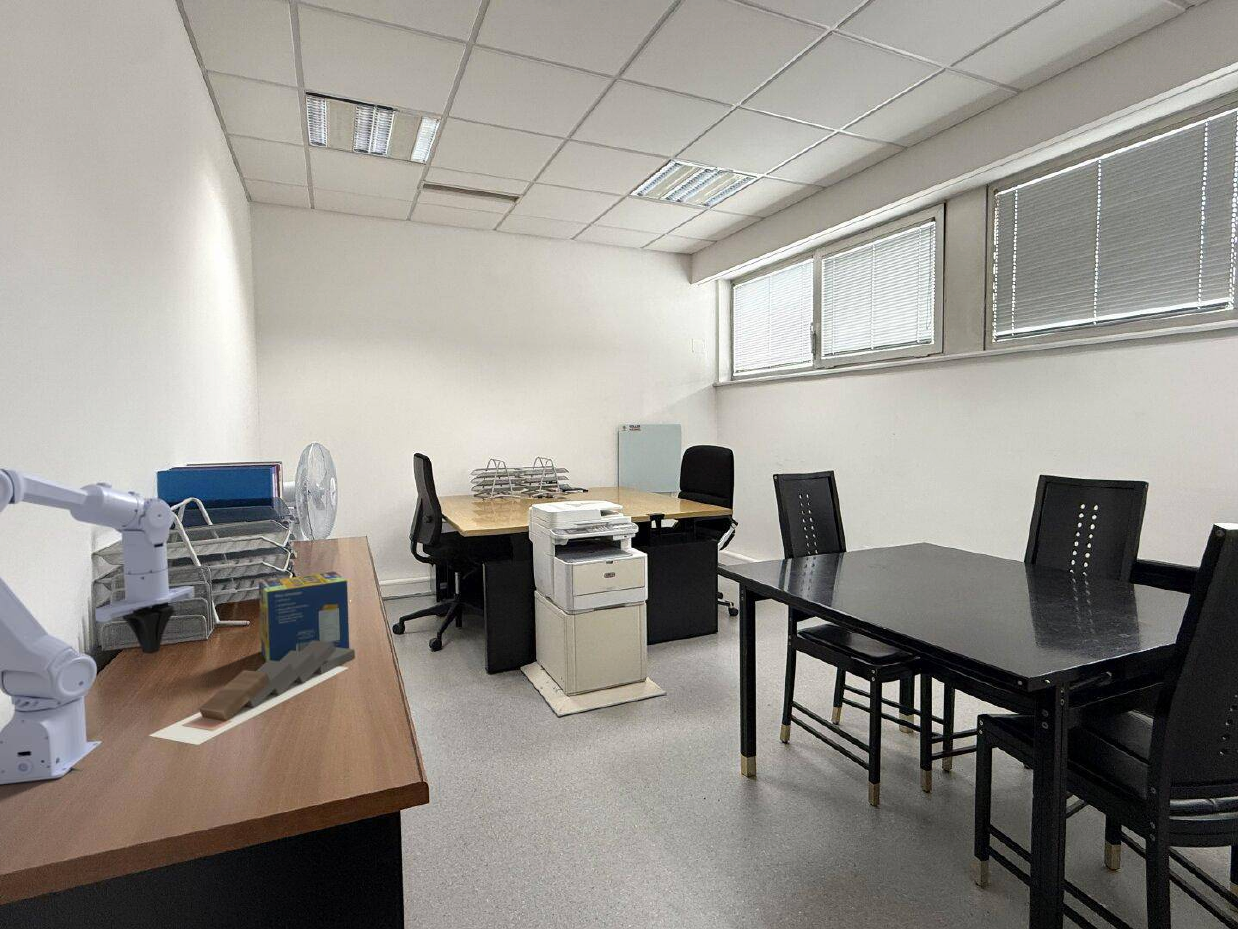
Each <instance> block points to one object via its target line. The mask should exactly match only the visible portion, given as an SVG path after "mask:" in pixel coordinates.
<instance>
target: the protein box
mask: <svg viewBox="0 0 1238 929" xmlns="http://www.w3.org/2000/svg"><path fill="white" fill-rule="evenodd" d="M348 593H349V592H348V580H346V579H345V578H343V577H342V576H341V575H339V574H338V573H337V571H329V572H322V573H313V574H309V575H308V574H307V575H301V576H295V577H293V576H292V577H287V578H280V579H274V580H265V581H260V582H259V581H258V594H259V616H260V642H261V643H260V644H261V652H262V653H261V654H262V655H263V657H264V659H265V661H266V662H267V661H268V660H272V661H280V660H281V659H282V658H283V657H284V656H285V655H287V654H288V653H289V652H290V651H291V650H292V651H300V652H301V651H302V650H303V649H304V648H305V647H306V646H307V645H308V644H309V643H310V642H311V641H312V640H313V641H322V642H331V643H334V646H335V647H337V648H346V649H350V630H349V629H350V628H349V627H350V626H349V597H348V596H349V595H348Z"/></svg>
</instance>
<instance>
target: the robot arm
mask: <svg viewBox="0 0 1238 929" xmlns="http://www.w3.org/2000/svg"><path fill="white" fill-rule="evenodd" d="M20 502H23V503H28V504H33V505H34V504H35V505H40V506H46V507H49V508H50V507H51V508H56V509H62V510H68V511H69V513H70V515H71V516H72V518H73V519H74V520H76V521H78V522H81V523H87V524H93V525H97V526H102V527H106V528H112V529H114V531H117V533H119V534H121V541H122V542H121V543H122V544H121V545H122V548H121V549H122V557H123V558H122V559H123V560H122V562H123V577H124V578H123V579H124V594H125V598H124V599H121V600H118V601H116V602H113V603H109V604H107V605H105V606H104V605H103V606H101V607H97V608H94V614H95V617H94V618H95V621H96V622H103V623H106V622H110V621H112V619H116V618H119V617H122V619H123V621H125V622H126V623H127V625H128V626H129V627H130V628H131V630H132V632H133V633H134V635H135V637H136V639H137V641H138V644H139V646H140V649H141V652H142V653H143V654H154V653H157V652H160V648H161V643H162V639H163V636H164V632H165V630H166V626H167V625H168V623H169V621H170V619H171V618H172V615H173V614H174V613H175V608H174V606H173V605H169V604H171V603H174V602H178V601H182V600H188V599H193V598H195V586H190V585H184V586H180V587H179V586H178V587H174V588H169V569H168V566H169V565H168V549H167V548H168V547H167V541H168V539H169V538H170V529H171V526H172V525H173V523H174V521H175V517H176V516H175V515H176V514H175V512H173V511H172V509H171V507H170V505H169V504H168V503H167V502H166V501H165V500H163V499H161V498H156V497H142V496H140V492H137V491H128V492H126V491H121V490H118V489H115V488H114V489H113V485H112V484H111V483H107V482H97V483H94V484H93V483H91V484H87V485H84V486H82V487H80V488H77V487H74V486H70V485H66V484H63V483H60V482H57V481H54V480H50V479H47V478H44V477H41V476H36V475H33V474H30V473H27V472H26V473H25V472H24V471H19V470H16V469H10V468H0V514H1V513H2V512H3V511H4V509H5V508H6V507H7V506H8V505H17V504H20ZM97 670H98V668H97V663H96V660H95V659H93V657H92V656H90V655H88V654H85V653H82V652H79V651H78V650H76V649H75V648H74V647H73V645H72V644H70V643H68V642H67V641H64V640H62V639H61V638H58V637H55V636H54V635H52V634H50V633H48V631H47V630H46V629H45V628H44V627H43V625H42V624H41V623H40V622H39V620H37V618H36V617H35V616H34V615H33V614H32V612H31V611H30V610H29V608H27V607H26V605H25V604H24V603H23V601H21V600H20V598H19V597H18V596H17V595H16V593H15V592H14V591H13V590H12V588H10V586H9V585H8V584H7V583H6V581H5V580H4V579H3V578H2V577H1V576H0V691H1V692H2V693H3V694H4V695H6V696H8V697H10V698H11V699H10V700H11V705H13V706H14V709H13V710H14V712H13V715H12V717H11V720H10V721H9V722H8V723H7V724H6V725H4V726H3V727H2V729H1V730H0V785H4V784H5V785H6V784H16V783H23V782H33V781H42V780H50V779H58V778H62V777H63V776H64V775H66V774H67V773H68V772H70V771H71V770H72V769H73V766H75V764H77V763H78V762H79V761H80V760H81V759H83V758H84V757H85V756H86V755H88V754H89V753H90V752H91V751H93V749H95V748H96V747H98V746H99V745H101V743H102V741H101V740H96V741H87V725H86V709H85V697H86V696H87V695H88V690H90V688H91V687H92V686H93V684H94V682H95V680H96V677H97Z"/></svg>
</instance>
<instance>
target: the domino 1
mask: <svg viewBox="0 0 1238 929" xmlns="http://www.w3.org/2000/svg"><path fill="white" fill-rule="evenodd" d="M269 682H270V680H269V677H268V675H267V673H262V672H255V671H254V670H246V669H244V670H242V671H241V672H239V673H238V675H236V676H235V677H234V678H233V679H232V680H230V681H229V682H228V683H227V684H225V686H223V687H222V688H221V689H220V690H218V691H217V692H216V693H215V694H214V695H213V696H212V697H210V698H209V699H208V700H207V701H206V702H204V704H202V705H201V706H200V707H199V708H198V710H199V712H200V713H201V715H202V717H204V718H210V719H216V720H222V721H227V720H228V719H229V718H231V717H232V716H233V715H234V714H235V713H236V712H237V711H238V710H239V709H240V708H241V707H243V706H244V705H245V704H246V703H247V702H248V701H249V700H250V699H251V698H252V697H254V696H255V695H256V694H257V693H258V692H259V691H260V690H261V689H262V688H263V687H265V686H266V685H267V684H268V683H269Z"/></svg>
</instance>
